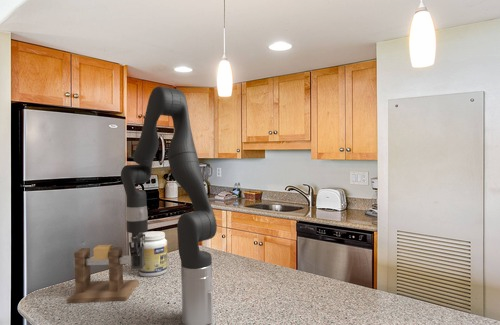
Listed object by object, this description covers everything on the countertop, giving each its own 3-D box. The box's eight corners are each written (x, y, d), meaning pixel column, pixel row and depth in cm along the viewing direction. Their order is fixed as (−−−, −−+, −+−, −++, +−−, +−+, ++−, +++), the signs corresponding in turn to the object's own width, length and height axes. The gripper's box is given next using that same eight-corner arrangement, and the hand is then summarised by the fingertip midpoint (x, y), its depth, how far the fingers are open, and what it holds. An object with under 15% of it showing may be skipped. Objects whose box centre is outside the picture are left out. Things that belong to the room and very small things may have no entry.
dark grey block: (144, 265, 126) (144, 244, 126) (142, 268, 123) (142, 246, 123) (77, 268, 124) (76, 246, 124) (73, 270, 121) (73, 249, 121)
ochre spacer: (112, 255, 126) (112, 244, 126) (107, 259, 121) (107, 248, 121) (98, 255, 126) (98, 244, 126) (93, 259, 121) (93, 248, 121)
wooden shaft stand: (138, 283, 132) (137, 243, 132) (126, 300, 116) (125, 255, 116) (86, 285, 131) (85, 244, 131) (67, 303, 115) (66, 257, 115)
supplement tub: (157, 279, 137) (156, 237, 136) (132, 276, 141) (131, 235, 140) (173, 269, 148) (172, 231, 148) (149, 266, 152) (148, 229, 152)
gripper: (142, 221, 117) (143, 270, 117) (151, 214, 131) (152, 258, 132) (120, 222, 117) (121, 271, 117) (132, 215, 131) (133, 259, 131)
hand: (137, 264), depth 124 cm, fingers closed on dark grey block, 3 cm apart
